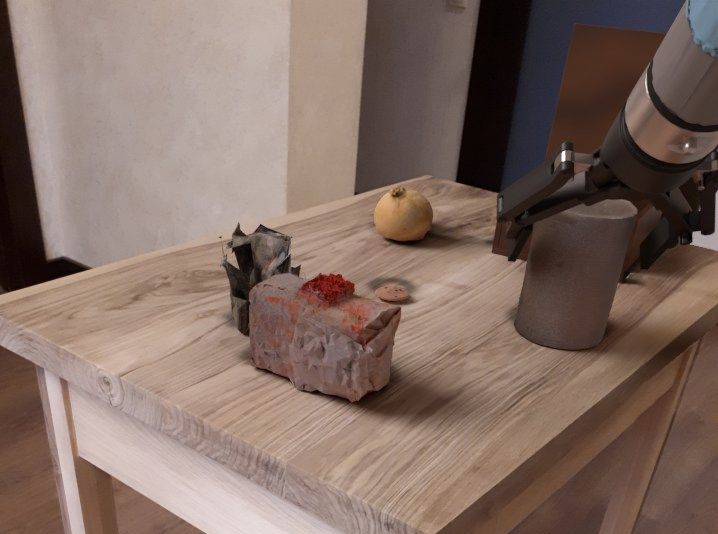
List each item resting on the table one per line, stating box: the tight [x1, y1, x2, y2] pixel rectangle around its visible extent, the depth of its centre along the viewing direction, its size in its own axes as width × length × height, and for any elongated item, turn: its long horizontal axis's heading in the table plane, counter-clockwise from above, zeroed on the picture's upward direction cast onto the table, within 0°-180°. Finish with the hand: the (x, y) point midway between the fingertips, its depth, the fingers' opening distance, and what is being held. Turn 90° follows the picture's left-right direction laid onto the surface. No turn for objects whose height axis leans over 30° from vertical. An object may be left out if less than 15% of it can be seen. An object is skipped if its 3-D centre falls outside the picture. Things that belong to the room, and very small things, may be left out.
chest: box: [491, 183, 663, 284], centre depth 107 cm, size 17×18×8 cm
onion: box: [373, 184, 434, 242], centre depth 107 cm, size 8×8×7 cm
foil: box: [218, 221, 307, 334], centre depth 85 cm, size 12×11×15 cm
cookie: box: [374, 285, 411, 302], centre depth 91 cm, size 4×4×1 cm
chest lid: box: [543, 22, 667, 162], centre depth 106 cm, size 18×18×1 cm
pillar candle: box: [513, 199, 638, 351], centre depth 82 cm, size 10×10×15 cm
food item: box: [248, 272, 402, 403], centre depth 71 cm, size 14×8×10 cm, turn 58°
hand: (577, 253), depth 81 cm, fingers open, 13 cm apart
